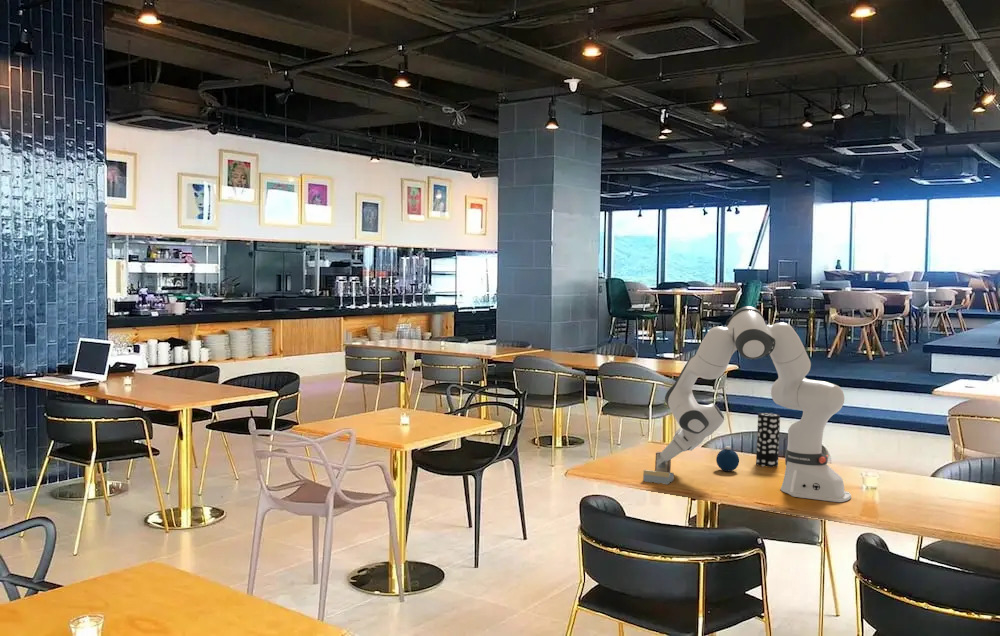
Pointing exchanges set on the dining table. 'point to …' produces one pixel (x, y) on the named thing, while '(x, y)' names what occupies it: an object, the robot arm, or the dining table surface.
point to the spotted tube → (768, 439)
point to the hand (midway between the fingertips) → (659, 461)
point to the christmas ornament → (727, 459)
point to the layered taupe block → (662, 464)
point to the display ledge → (658, 476)
